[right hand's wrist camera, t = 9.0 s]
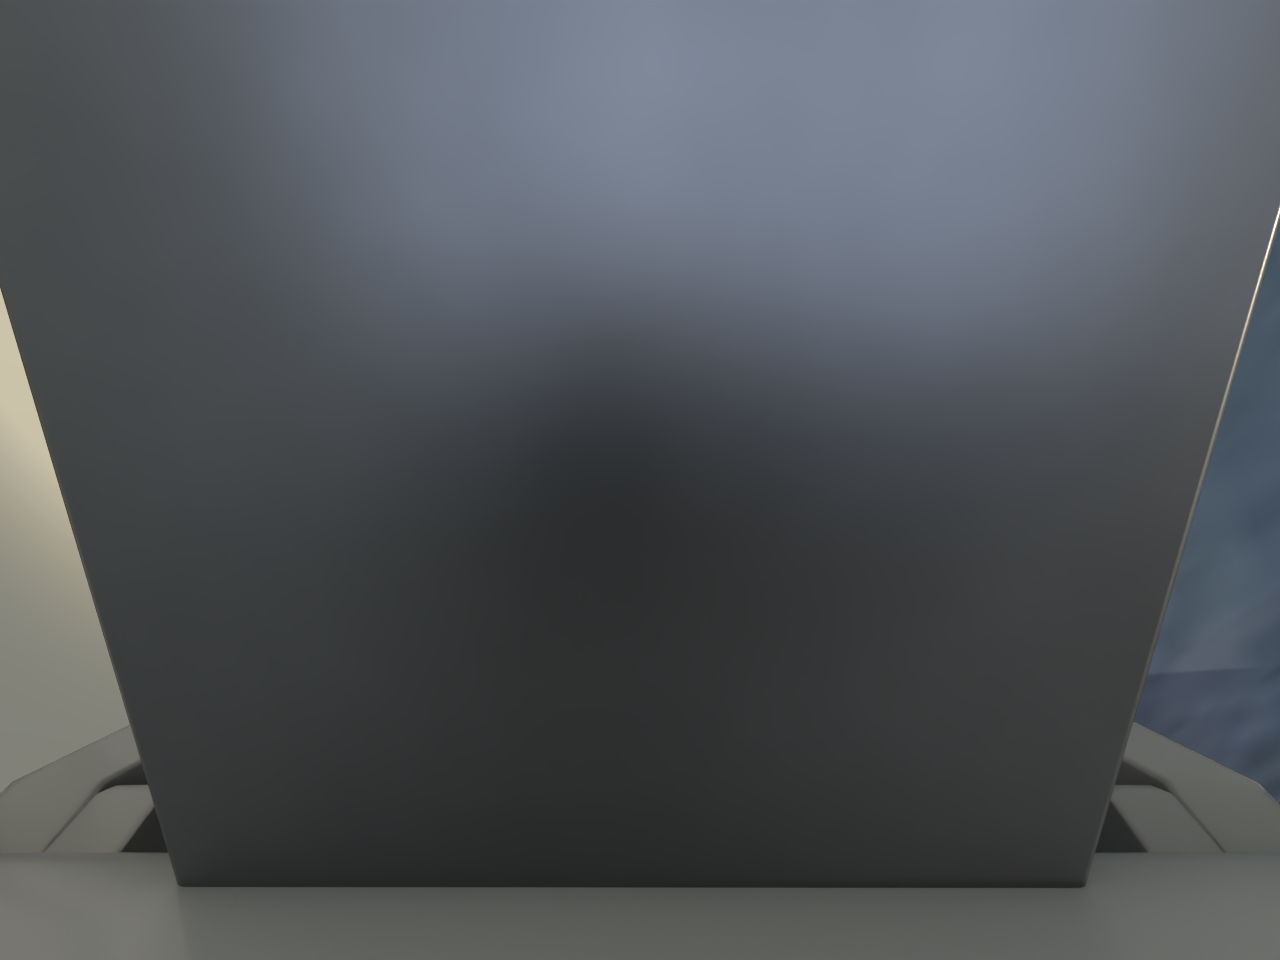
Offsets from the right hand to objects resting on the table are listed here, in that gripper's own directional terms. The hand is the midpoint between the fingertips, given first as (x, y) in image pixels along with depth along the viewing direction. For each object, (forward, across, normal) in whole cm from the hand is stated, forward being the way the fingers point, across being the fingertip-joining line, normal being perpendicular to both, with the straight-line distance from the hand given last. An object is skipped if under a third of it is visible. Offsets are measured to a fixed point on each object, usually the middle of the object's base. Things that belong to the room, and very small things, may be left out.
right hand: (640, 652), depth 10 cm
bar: (+3, 0, +8) cm, 9 cm away
